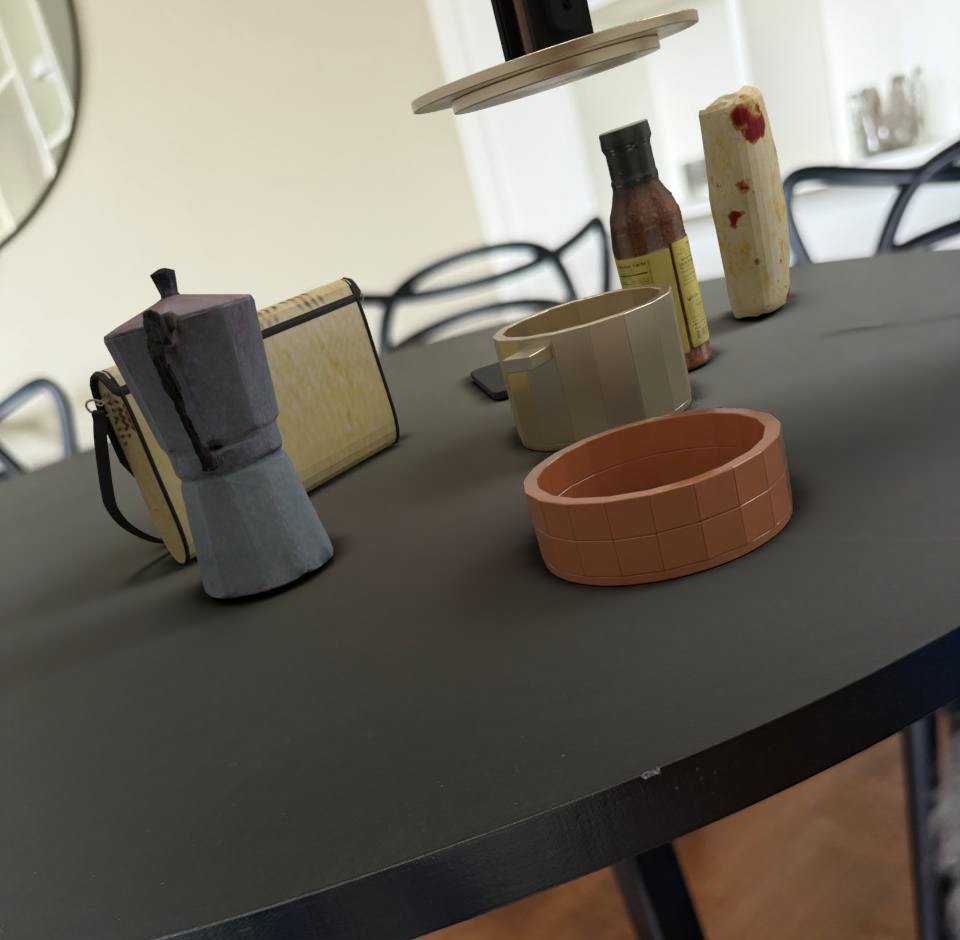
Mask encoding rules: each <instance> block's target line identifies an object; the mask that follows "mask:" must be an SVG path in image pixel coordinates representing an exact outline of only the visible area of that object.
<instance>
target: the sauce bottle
mask: <svg viewBox="0 0 960 940" xmlns="http://www.w3.org/2000/svg"><path fill="white" fill-rule="evenodd" d="M651 137H652V129H651V126H650V123H649V120H648V118H643V119H640V120H636V121H633V122H630V123H627V124H624V125H623V126H622V125H621V126H618V127H615V128H613V129H610V130H607V131H604V132H602V133H600V134H599V135H598V140H599V144H600V151H601V152H602V154H603V155H604V157H605V160H606V166H607V169H608V173H609V178H610V181H611V182H610V187H611V189H612V200H611V208H610V214H609V231H610V232H609V233H610V239H611V241H610V242H611V251H612V255H613V258H614V259H613V260H614V262H615V266H616V270H617V274H618V279H619V282H620V287H621V289H623V288H628V287H634V286H641V285H652V284H662V285H668V286H671V287H672V292H673V298H674V303H675V308H676V313H677V318H678V323H679V329H680V334H681V339H682V344H683V349H684V354H685V360H686V365H687V370H688V372H689V371H692V370H695V369H696V368H698V367H701V366H703V365H705V364H706V363H708V362H709V360H710V359H711V358H712V355H713V352H712V347H711V345H710V341H709V339H710V331H709V326H708V322H707V318H706V313H705V309H704V304H703V301H702V296H701V291H700V286H699V282H698V278H697V273H696V268H695V264H694V259H693V254H692V250H691V245H690V241H689V235H688V234H687V232H686V229H685V225H684V220H683V215H682V211H681V207H680V205H679V203H677V200H676V198H675V197H674V195H673V192H672V191H670V190H669V189H668V188H667V186H665V184H664V183H663V182H662V181H661V179H660V176H659V170H658V169H659V168H657V165H656V161H655V156H654V152H653V147H652V143H651Z"/></svg>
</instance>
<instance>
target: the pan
mask: <svg viewBox="0 0 960 940" xmlns="http://www.w3.org/2000/svg"><path fill="white" fill-rule="evenodd" d="M784 440H785V439H784V434H783V428H782V423H781V422H780V421H779V420H778V419H777V418H776V417H774V416H773V415H772V414H770V413H768V412H764V411H758V410H755V409H750V408H735V407H732V408H729V407H728V408H727V407H726V408H725V407H723V408H722V407H717V408H716V407H715V408H706V409H705V408H704V409H697V410H695V409H694V410H685V411H683V412H680V413H675V414H670V415H665V416H659V417H654V418H649V419H645V420H641V421H638V422H634V423H631V424H627V425H623V426H620V427H616V428H613V429H610V430H607V431H604V432H602V433H599V434H596V435H594V436H591V437H588V438H586V439H583V440H580V441H578V442H576V443H574V444H572V445H570V446H568V447H566V448H564V449H562V450H560V451H555V452H553V454H551V455H549V456H548V457H547V458H546V459H544V460H543V461H540V462H539V463H538V464H537V465H535V466H534V467H533V468H532V469H531V470H530V472H529V473H528V474H527V475H526V477H525V478H524V480H523V490H524V495H525V498H526V503H527V506H528V509H529V513H530V517H531V520H532V524H533V528H534V532H535V535H536V539H537V543H538V546H539V551H540V554H541V557H542V561H543V563H544V565H545V567H546V569H547V570H548V571H549V572H550V573H551V574H552V575H554V576H556V577H557V578H559V579H561V580H564V581H567V582H570V583H575V584H580V585H588V586H600V587H601V586H605V587H608V586H614V587H615V586H631V585H641V584H649V583H656V582H661V581H666V580H671V579H676V578H677V579H678V578H680V577H684V576H688V575H692V574H697V573H700V572H702V571H706V570H709V569H712V568H714V567H718V566H720V565H723V564H726V563H728V562H731V561H733V560H736V559H738V558H740V557H743V556H744V555H746V554H748V553H751V552H752V551H754V550H757V549H758V548H759V547H761V546H762V545H765V544H767V543H768V542H769V541H770V540H771V539H773V538H774V537H776V535H778V534H779V533H780V532H781V531H782V530H783V529H784V528H785V527H786V525H787V524H788V523H789V521H790V520H791V518H792V514H793V510H794V509H793V508H794V504H793V499H792V498H793V489H792V485H791V478H790V472H789V466H788V459H787V453H786V447H785V446H786V445H785V441H784Z"/></svg>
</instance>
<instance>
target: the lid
mask: <svg viewBox="0 0 960 940" xmlns="http://www.w3.org/2000/svg"><path fill="white" fill-rule="evenodd" d="M512 2H513V6H514V11H515V15H516V19H517V24H518V28H519V32H520V37H521V41H522V45H523V50H524V54H525V55H524V56H521V57H519V58H516V59H513V60H510V61H507V62H505V61H504V62H501V63H499V64H496V65H494V66H490V67H488V68H485V69H483V70H479V71H477V72H474V73H472V74H469V75H467V76H464V77H462V78H459V79H456V80H453V81H451V82H449V83H447V84H444V85H442V86H440V87H437V88H435V89H432V90H431V91H428V92H426V93H424V94H422V95H420V96H418V97H417V98H415V99H414V100H413V101H411V102H410V107H411V110H412V113H413V115H426V114H431V113H437V112H440V111H445V110H448V109H452V112H453V115H454V116H460V115H465V114H469V113H474V112H479V111H482V110H487V109H490V108H494V107H497V106H500V105H503V104H507V103H511V102H514V101H517V100H520V99H524V98H526V97H531V96H533V95H537V94H540V93H543V92H546V91H549V90H553V89H555V88H556V89H557V88H559V87H562V86H565V85H568V84H571V83H574V82H577V81H580V80H583V79H586V78H589V77H592V76H595V75H597V74H598V75H599V74H601V73H603V72H607V71H609V70H612V69H615V68H619V67H621V66H623V65H626V64H629V63H631V62H634V61H636V60H639V59H642V58H644V57H646V56H648V55H651V54H653V53H656V52H657V51H659V50H661V42H660V41H662V40H663V39H666V38H668V37H671V36H674V35H676V34H678V33H680V32H684V31H685V30H687V29H689V28H691V27H693V26H694V25H696V24H698V22H699V21H700V18H699V13H698V9H696V8H686V9H680V10H679V9H678V10H675V11H669V12H665V13H661V14H656V15H652V16H649V17H644V18H641V19H638V20H634V21H630V22H626V23H623V24H620V25H615V26H613V27H609V28H606V29H602V30H599V31H595V32H594V33H592V34H589V35H586V36H582V37H579V38H576V39H573V40H570V41H567V42H563V43H560V44H557V45H554V46H551V47H548V48H545V49H542V50H539V51H536V52H533V48H532V44H531V39H530V35H529V31H528V26H527V22H526V18H525V13H524V9H523V4H522V0H512Z"/></svg>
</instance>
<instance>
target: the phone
mask: <svg viewBox="0 0 960 940" xmlns="http://www.w3.org/2000/svg"><path fill="white" fill-rule="evenodd" d="M469 374H470V378H471V380H472V381H473V382H474V383H475V384H476V385H478V386H479V387H480V388H481V389H482V390H483V391H485V392H486V393H487V394H488V395H489V396H490V397H491V398H493V399H495V400H501V399H505V398H509V397H508V393H507V390H506V386H505V382H504V379H503V375H502V371H501V367H500V364H499V361H498V362H495V363H491V364H489V365H485V366H481V367H479V368H475V369H473V370H471V371H470V373H469Z"/></svg>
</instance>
